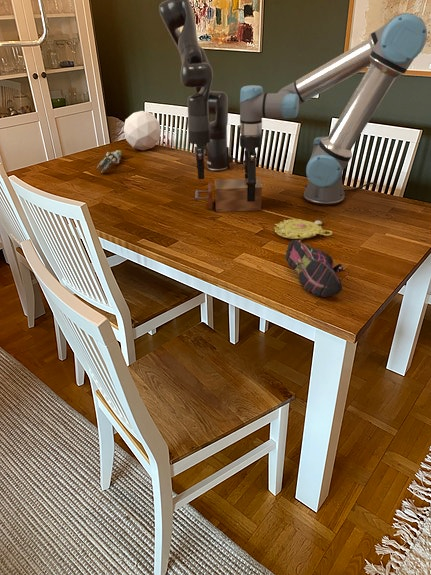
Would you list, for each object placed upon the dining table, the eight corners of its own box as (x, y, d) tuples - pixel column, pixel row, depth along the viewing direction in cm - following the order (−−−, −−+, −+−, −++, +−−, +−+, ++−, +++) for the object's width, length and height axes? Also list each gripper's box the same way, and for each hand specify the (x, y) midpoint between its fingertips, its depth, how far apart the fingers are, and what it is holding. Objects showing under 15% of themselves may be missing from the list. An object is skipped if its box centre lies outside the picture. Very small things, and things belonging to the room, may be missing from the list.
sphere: (136, 161, 242) (117, 128, 240) (167, 143, 245) (148, 111, 242) (135, 152, 224) (114, 116, 221) (169, 133, 226) (148, 97, 223)
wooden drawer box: (216, 212, 163) (215, 188, 158) (215, 201, 172) (214, 179, 167) (261, 210, 163) (261, 187, 158) (258, 200, 172) (258, 177, 167)
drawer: (195, 209, 163) (194, 191, 159) (195, 200, 170) (194, 183, 167) (250, 207, 163) (250, 189, 159) (248, 198, 171) (248, 181, 167)
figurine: (101, 154, 197) (119, 141, 223) (91, 167, 200) (110, 152, 227) (114, 165, 199) (130, 151, 225) (103, 178, 203) (121, 162, 229)
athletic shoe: (328, 286, 106) (368, 278, 110) (289, 224, 118) (325, 219, 122) (312, 314, 115) (349, 305, 119) (276, 254, 127) (311, 248, 131)
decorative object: (286, 211, 157) (342, 219, 147) (286, 217, 158) (341, 226, 148) (260, 233, 142) (319, 243, 133) (260, 240, 144) (319, 251, 134)
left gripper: (188, 123, 158) (191, 170, 167) (187, 133, 146) (190, 183, 155) (209, 122, 158) (211, 170, 167) (210, 132, 146) (211, 183, 155)
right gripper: (237, 127, 163) (237, 185, 175) (242, 143, 144) (242, 207, 156) (257, 126, 163) (256, 184, 175) (265, 142, 144) (263, 206, 156)
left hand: (201, 176), depth 161 cm, fingers open, 4 cm apart
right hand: (249, 195), depth 165 cm, fingers closed on wooden drawer box, 10 cm apart
